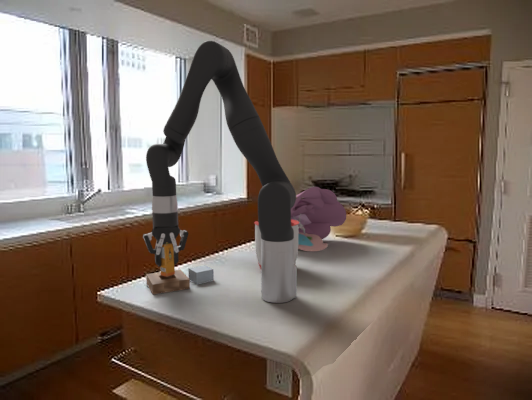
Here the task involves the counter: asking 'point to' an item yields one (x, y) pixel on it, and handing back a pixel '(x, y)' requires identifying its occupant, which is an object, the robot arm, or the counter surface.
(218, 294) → the counter surface
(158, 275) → the hole plate
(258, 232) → the citrus juicer
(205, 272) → the wide block
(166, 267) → the supplement box
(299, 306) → the counter surface
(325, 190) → the flower arrangement
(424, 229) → the counter surface
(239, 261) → the counter surface
